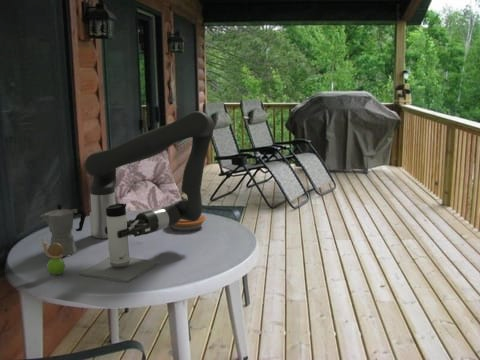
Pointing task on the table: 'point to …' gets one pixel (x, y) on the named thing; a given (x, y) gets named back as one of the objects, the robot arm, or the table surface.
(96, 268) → the mat
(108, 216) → the travel mug
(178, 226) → the pie
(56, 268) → the snail figurine
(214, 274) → the table surface
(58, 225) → the coffeepot
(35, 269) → the table surface
